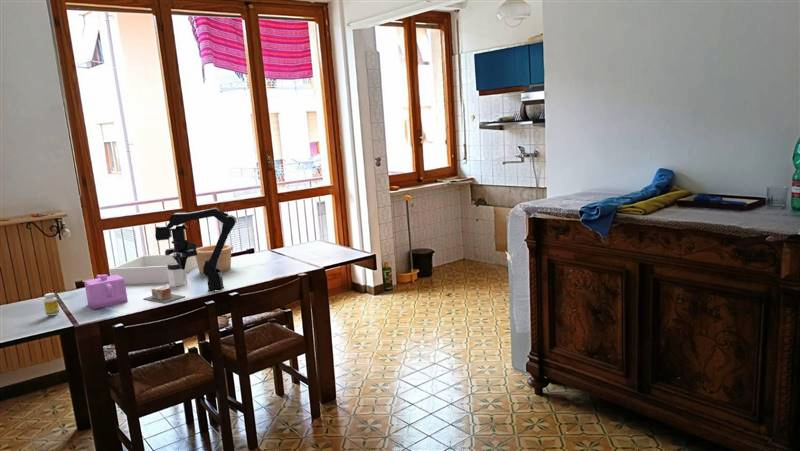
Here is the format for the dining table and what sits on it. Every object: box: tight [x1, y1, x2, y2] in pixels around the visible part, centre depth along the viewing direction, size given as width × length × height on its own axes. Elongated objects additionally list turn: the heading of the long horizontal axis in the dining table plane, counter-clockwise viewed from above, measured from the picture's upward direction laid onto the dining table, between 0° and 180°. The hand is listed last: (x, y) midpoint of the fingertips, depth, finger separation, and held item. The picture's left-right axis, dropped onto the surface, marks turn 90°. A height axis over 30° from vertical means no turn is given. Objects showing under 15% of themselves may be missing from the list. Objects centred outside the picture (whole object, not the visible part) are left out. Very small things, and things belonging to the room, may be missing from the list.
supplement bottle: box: [43, 292, 60, 316], centre depth 267 cm, size 5×5×10 cm
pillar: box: [150, 285, 172, 299], centre depth 282 cm, size 4×4×9 cm
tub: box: [109, 253, 198, 285], centre depth 330 cm, size 34×34×9 cm
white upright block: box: [167, 262, 188, 288], centre depth 305 cm, size 9×8×12 cm
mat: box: [143, 293, 186, 304], centre depth 281 cm, size 18×11×1 cm, turn 55°
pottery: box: [195, 243, 234, 276], centre depth 328 cm, size 22×22×14 cm
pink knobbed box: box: [83, 274, 129, 310], centre depth 280 cm, size 15×25×14 cm, turn 38°
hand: (183, 269), depth 287 cm, fingers closed
